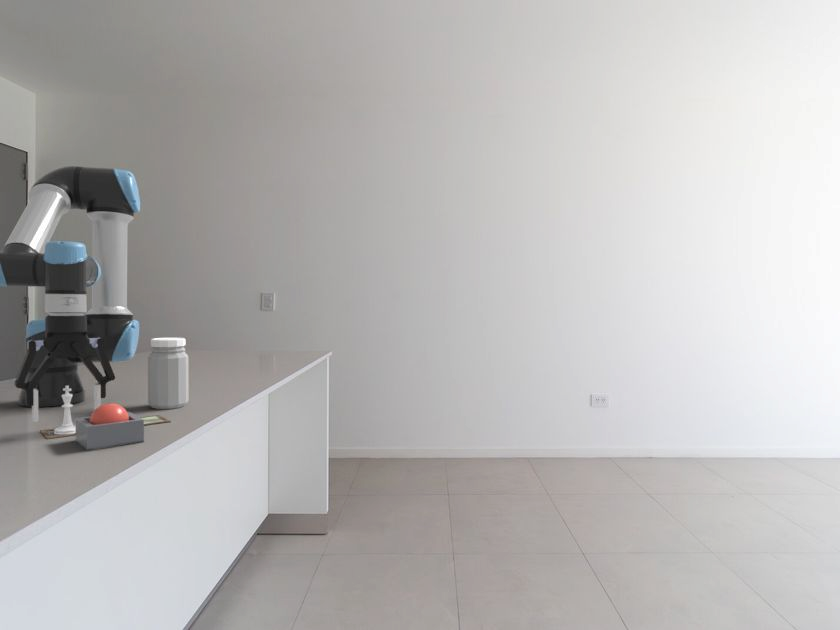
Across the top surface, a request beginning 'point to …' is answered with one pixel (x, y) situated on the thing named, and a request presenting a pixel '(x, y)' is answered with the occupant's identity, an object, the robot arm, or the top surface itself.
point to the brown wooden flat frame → (147, 420)
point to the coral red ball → (108, 414)
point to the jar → (168, 374)
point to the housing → (109, 433)
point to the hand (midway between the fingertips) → (67, 417)
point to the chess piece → (66, 415)
